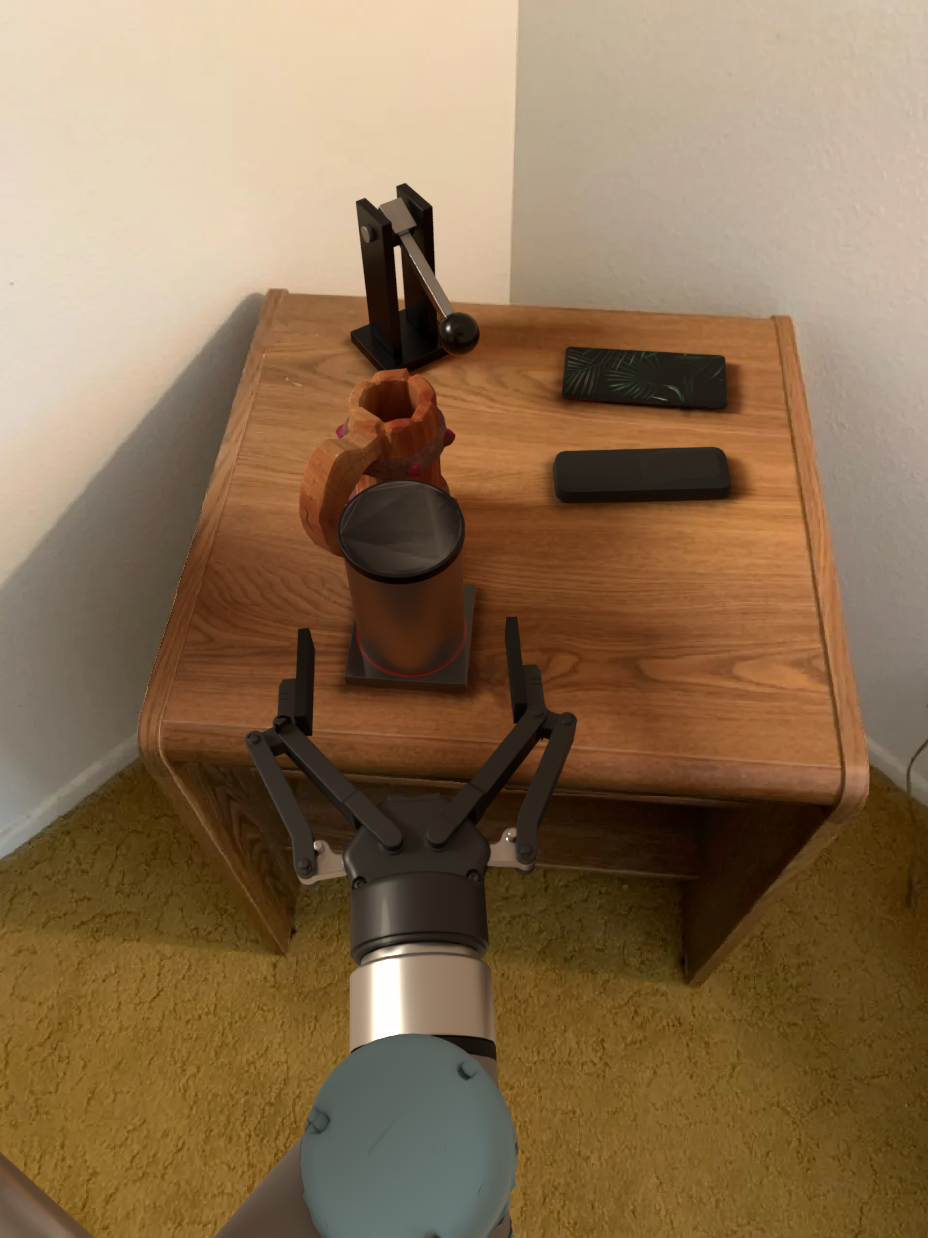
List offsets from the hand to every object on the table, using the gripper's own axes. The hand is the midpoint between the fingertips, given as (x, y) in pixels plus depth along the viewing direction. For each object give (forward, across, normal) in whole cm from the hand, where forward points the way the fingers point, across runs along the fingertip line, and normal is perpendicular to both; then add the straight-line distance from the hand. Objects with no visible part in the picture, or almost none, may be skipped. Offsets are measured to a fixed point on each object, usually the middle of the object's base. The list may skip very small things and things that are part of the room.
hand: (409, 633), depth 62 cm
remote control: (+20, +20, -8) cm, 29 cm away
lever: (+35, +2, +1) cm, 35 cm away
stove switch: (+39, 0, -8) cm, 39 cm away
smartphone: (+32, +22, -8) cm, 40 cm away
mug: (+14, -2, -8) cm, 16 cm away
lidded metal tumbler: (+5, 0, -6) cm, 8 cm away
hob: (+5, 0, -8) cm, 9 cm away
